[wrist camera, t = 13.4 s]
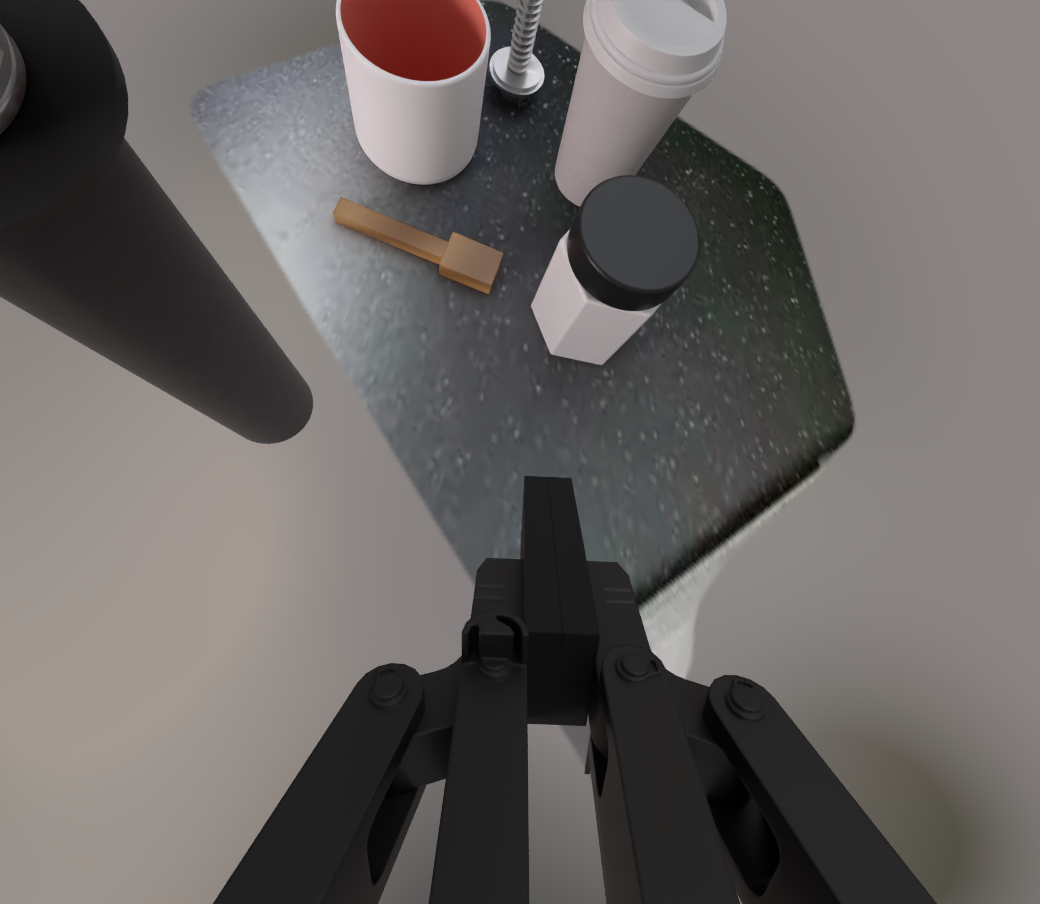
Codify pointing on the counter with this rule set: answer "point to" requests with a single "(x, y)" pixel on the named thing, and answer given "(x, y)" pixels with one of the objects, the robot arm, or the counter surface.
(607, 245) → the jar
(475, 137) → the cup
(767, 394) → the counter surface
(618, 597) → the robot arm
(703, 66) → the coffee cup
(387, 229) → the brown wooden bar
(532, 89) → the screw
